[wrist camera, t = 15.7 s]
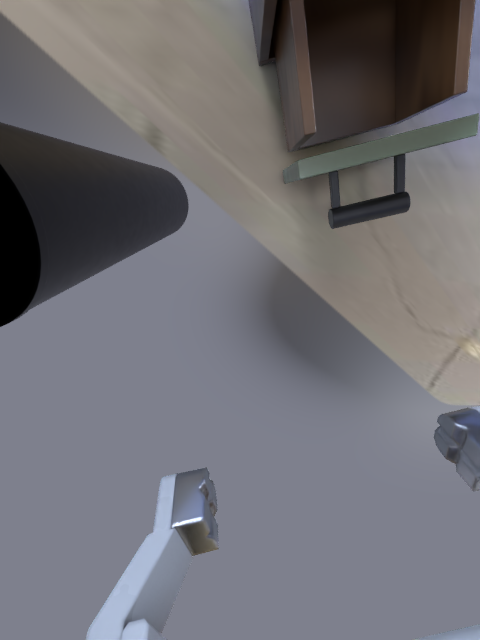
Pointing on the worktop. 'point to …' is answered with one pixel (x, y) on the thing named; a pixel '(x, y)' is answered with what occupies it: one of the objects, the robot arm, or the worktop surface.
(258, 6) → the storage box
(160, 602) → the robot arm
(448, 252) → the worktop surface
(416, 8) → the drawer
